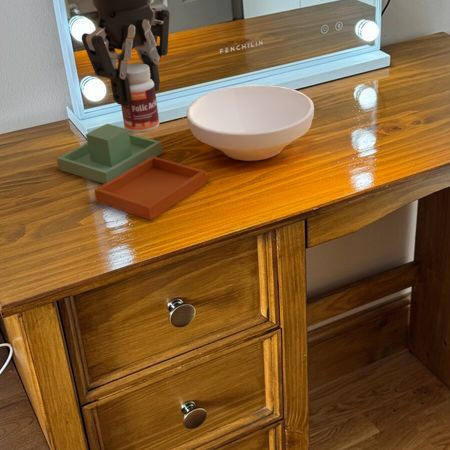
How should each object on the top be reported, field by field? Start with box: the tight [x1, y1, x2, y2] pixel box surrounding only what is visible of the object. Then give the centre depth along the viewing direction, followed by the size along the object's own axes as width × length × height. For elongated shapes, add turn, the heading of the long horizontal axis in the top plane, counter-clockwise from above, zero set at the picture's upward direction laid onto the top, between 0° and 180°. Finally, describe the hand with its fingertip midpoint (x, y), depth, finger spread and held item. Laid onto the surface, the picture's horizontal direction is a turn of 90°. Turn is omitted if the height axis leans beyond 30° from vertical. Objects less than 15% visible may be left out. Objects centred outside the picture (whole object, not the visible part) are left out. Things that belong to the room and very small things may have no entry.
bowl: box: [185, 84, 315, 162], centre depth 119 cm, size 20×20×7 cm
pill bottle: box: [120, 62, 160, 134], centre depth 102 cm, size 5×5×8 cm
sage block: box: [85, 123, 132, 167], centre depth 118 cm, size 4×4×4 cm
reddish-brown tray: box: [94, 156, 208, 221], centre depth 109 cm, size 12×10×2 cm
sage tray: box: [56, 132, 164, 185], centre depth 118 cm, size 12×10×2 cm
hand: (138, 96), depth 102 cm, fingers closed on pill bottle, 4 cm apart
